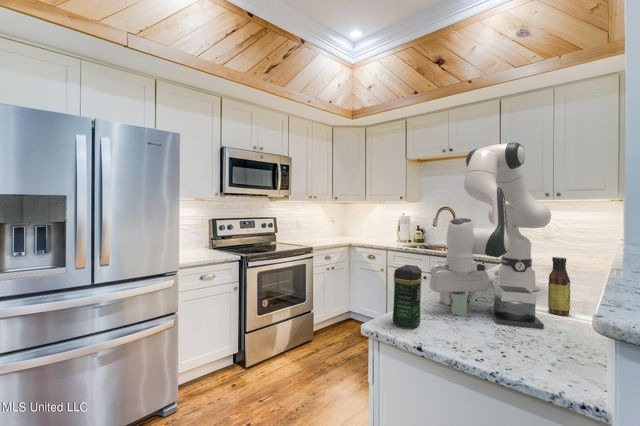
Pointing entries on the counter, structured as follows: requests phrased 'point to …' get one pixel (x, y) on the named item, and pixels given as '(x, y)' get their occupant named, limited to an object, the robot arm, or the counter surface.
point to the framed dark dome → (515, 307)
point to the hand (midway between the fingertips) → (458, 303)
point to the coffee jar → (407, 296)
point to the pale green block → (459, 303)
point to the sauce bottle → (559, 288)
